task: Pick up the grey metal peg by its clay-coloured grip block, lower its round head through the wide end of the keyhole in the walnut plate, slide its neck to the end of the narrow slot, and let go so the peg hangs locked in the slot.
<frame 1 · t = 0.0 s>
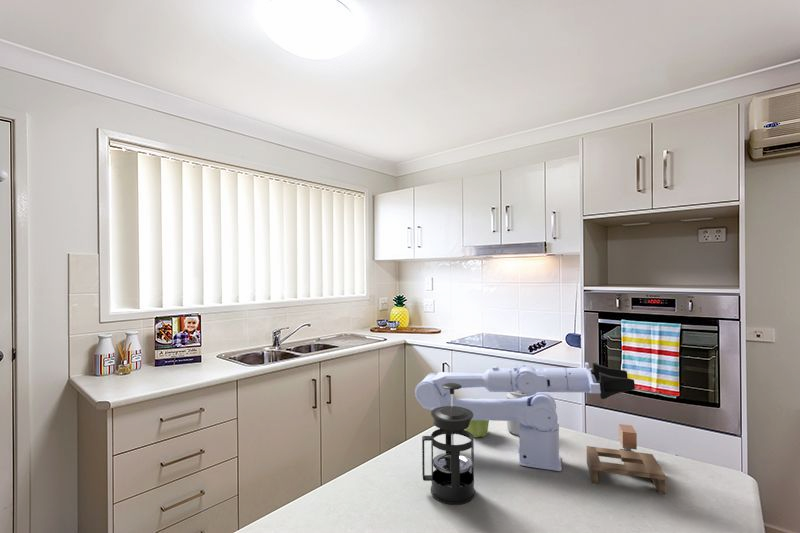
hand: (630, 379, 93), 22 cm above the countertop, tool horizontal, fingers open, 7 cm apart
peg: (627, 457, 101), on the countertop
plant pot: (476, 434, 116), on the countertop
keyhole plate: (622, 477, 92), on the countertop
french press: (450, 493, 86), on the countertop
can: (520, 432, 117), on the countertop
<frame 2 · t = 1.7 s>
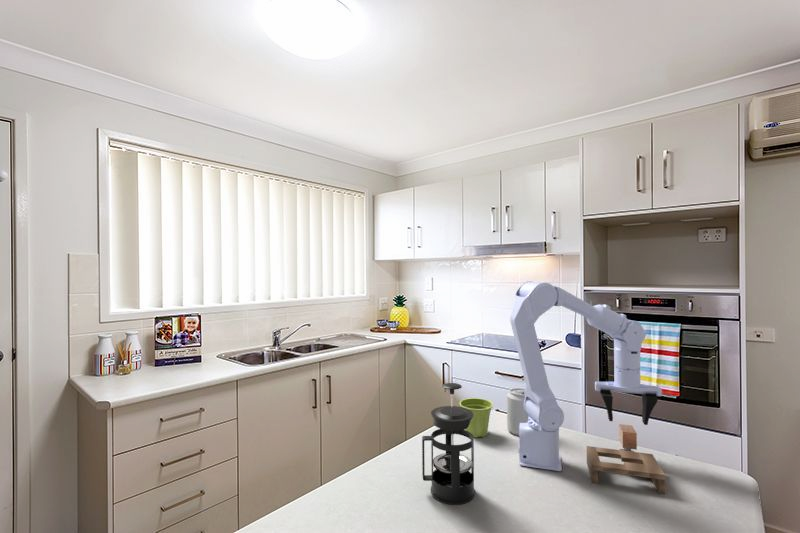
hand: (627, 421, 101), 9 cm above the countertop, tool pointing down, fingers open, 7 cm apart
nothing on the countertop moved.
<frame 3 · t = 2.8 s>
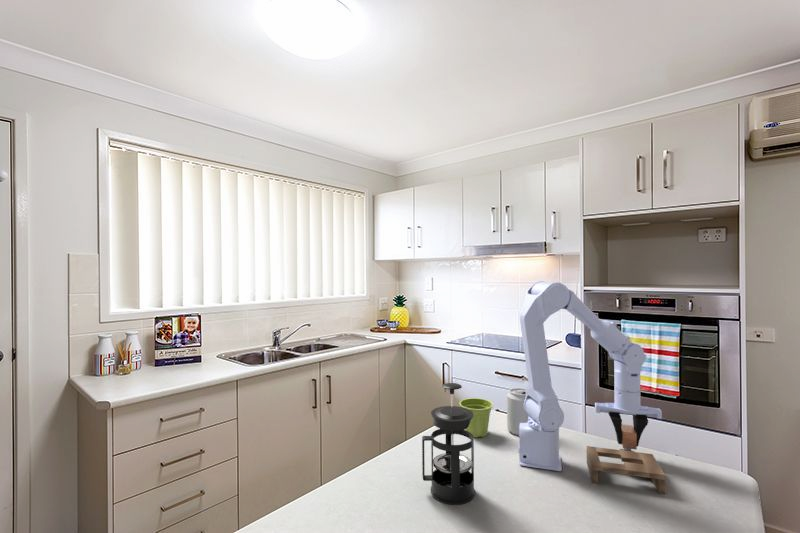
hand: (627, 443, 101), 3 cm above the countertop, tool pointing down, fingers closed on peg, 3 cm apart
peg: (627, 457, 101), on the countertop, touching gripper
everything else where it was.
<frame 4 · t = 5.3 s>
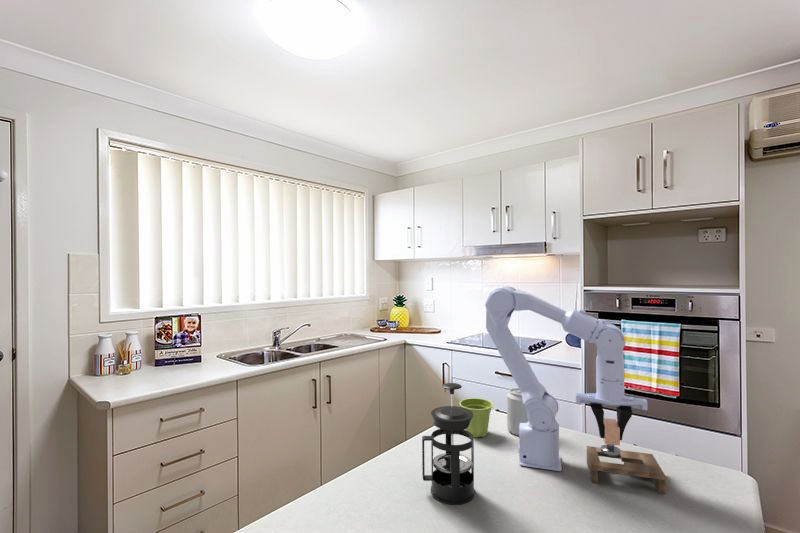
hand: (610, 437, 93), 9 cm above the countertop, tool pointing down, fingers closed on peg, 3 cm apart
peg: (610, 453, 93), point 5 cm above the countertop, touching gripper
everything else where it was.
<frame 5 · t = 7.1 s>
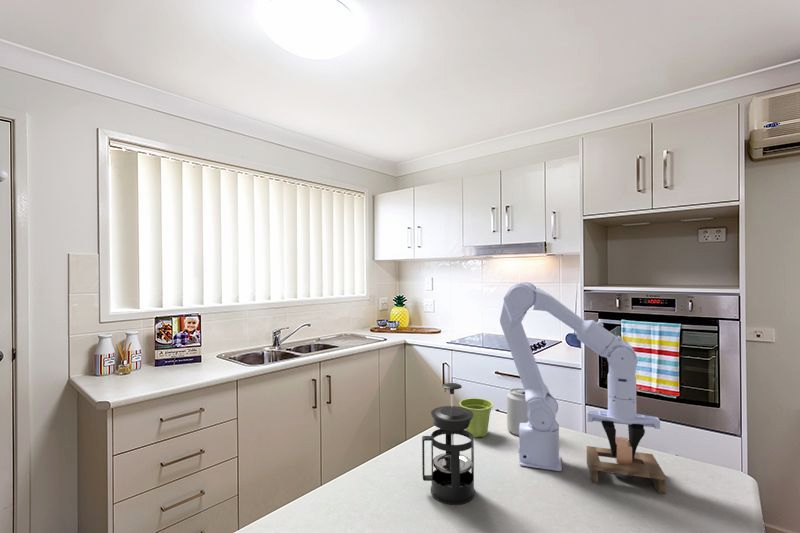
hand: (622, 455, 92), 5 cm above the countertop, tool pointing down, fingers closed on peg, 3 cm apart
peg: (622, 473, 92), point 1 cm above the countertop, touching gripper
everything else where it was.
when the fingers open (5 cm above the countertop, at t = 8.1 s): peg stays where it is, resting on keyhole plate.
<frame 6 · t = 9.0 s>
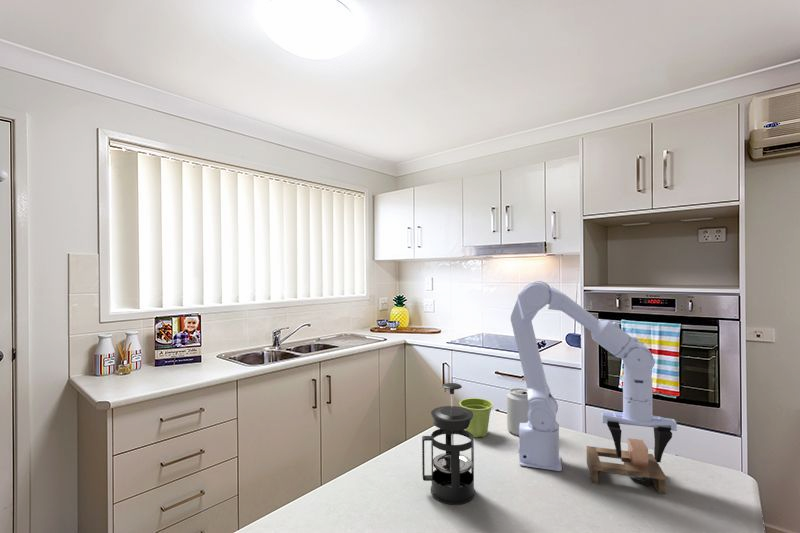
hand: (637, 457, 91), 5 cm above the countertop, tool pointing down, fingers open, 7 cm apart
peg: (637, 475, 91), point 1 cm above the countertop, touching keyhole plate
everything else where it was.
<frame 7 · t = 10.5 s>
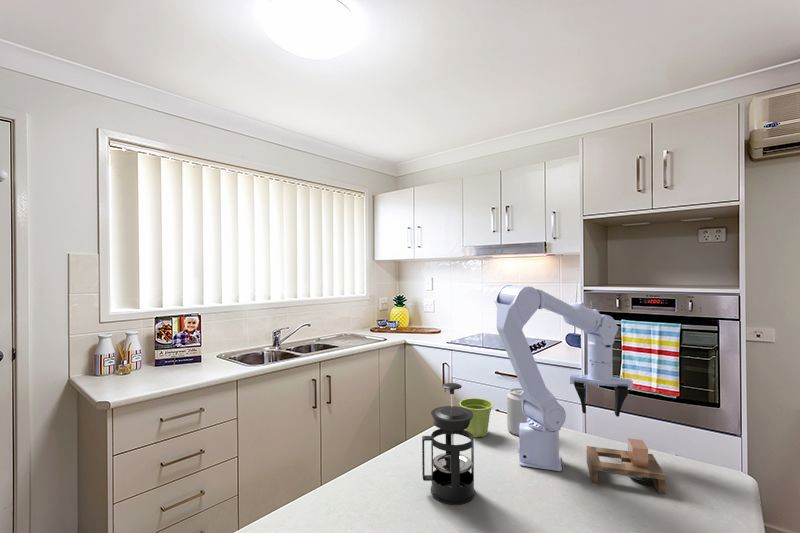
hand: (600, 413, 104), 10 cm above the countertop, tool pointing down, fingers open, 7 cm apart
nothing on the countertop moved.
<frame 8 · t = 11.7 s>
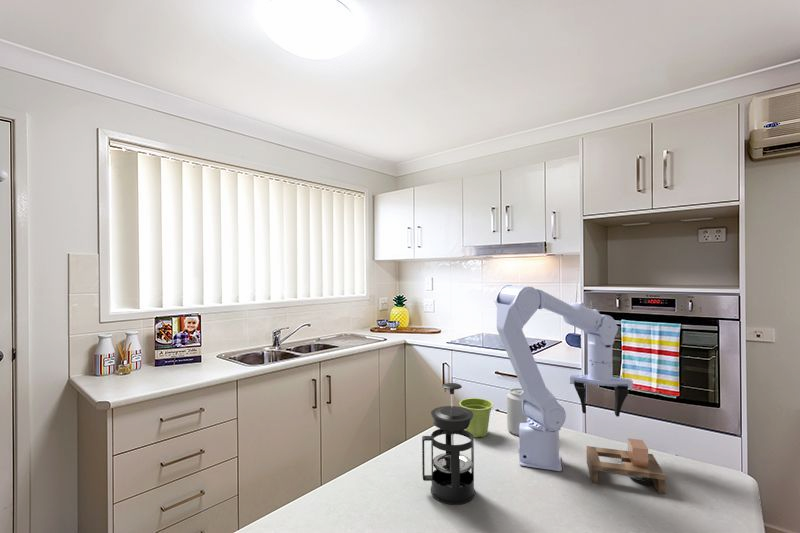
hand: (600, 413, 104), 10 cm above the countertop, tool pointing down, fingers open, 7 cm apart
nothing on the countertop moved.
at the end: peg 0.0 cm from the target spot on the keyhole plate, point 0.8 cm above the keyhole plate's base; the gripper is holding nothing; peg tilted 0° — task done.
